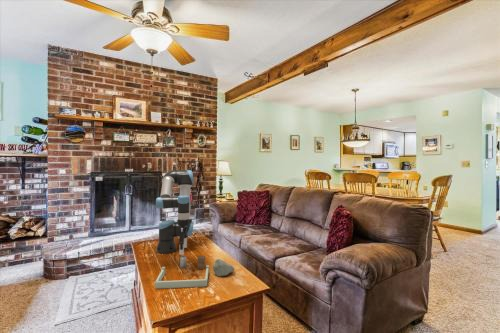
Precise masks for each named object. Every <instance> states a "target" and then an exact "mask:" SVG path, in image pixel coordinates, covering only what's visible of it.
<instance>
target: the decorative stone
mask: <svg viewBox="0 0 500 333" xmlns="http://www.w3.org/2000/svg"><path fill="white" fill-rule="evenodd" d="M212 270H213V273H214V275H216V276H217V277H224V276H227V275H229V274H232V273H233V272H234V271H235V268H234V266H233V265H231V264H229V263H228V262H226V261H224V260H222V259H220V258H219V259H215V261H214V264H213V266H212Z"/></svg>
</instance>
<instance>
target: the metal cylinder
mask: <svg viewBox="0 0 500 333" xmlns="http://www.w3.org/2000/svg"><path fill="white" fill-rule="evenodd" d="M179 260H180V261H179V268H180V269H182V270H183V269H186V268H187V256H186V255H182V256H180V258H179Z"/></svg>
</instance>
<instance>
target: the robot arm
mask: <svg viewBox="0 0 500 333" xmlns="http://www.w3.org/2000/svg"><path fill="white" fill-rule="evenodd" d="M194 183H195V180H194V173H193V171H192V170H190V169H173V170H170V171H168V172H166V173H165V174H164V175H163V176H162V178H161V184H162V185H161V190H160V196H159V197H156V199H155V207H156V209H177V213H176V216H177V221H175V220H174V219H167V220H164V221H161V222H160V223H159V225H158V241H157V242H158V243H157V245H156V248H155V249H156V250H155V251H156V253H158V254H162V255H163V254H170V253H174V252H176V251H177V245H179V253H178V255H182V256H185V248H186V249H187V247H188V238H189V237H190V236H192V235H193V231H194V223H195V222H194V220H193V218H192V217H191V188H192V187H193V184H194ZM174 185H177V187H178V188H179V195H178V196H172V193H173V187H174ZM175 238H179V239H178V243H177V245H176V242H175Z"/></svg>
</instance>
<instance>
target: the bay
mask: <svg viewBox="0 0 500 333" xmlns="http://www.w3.org/2000/svg"><path fill="white" fill-rule="evenodd" d="M209 273H210V265H207V264H205V277H204V279H203V278H201V279H184V280H183V279H181V280H179V279H178V280H162V279H163V278H164V276H165V275H166V266H161V271H160V272H159V274H158V276H157V278H156V280H155V281H154V289H155V290H156V289H177V288H178V289H179V288H181V289H182V288H198V287H199V288H200V287H201V288H202V287H208V279H209Z"/></svg>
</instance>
